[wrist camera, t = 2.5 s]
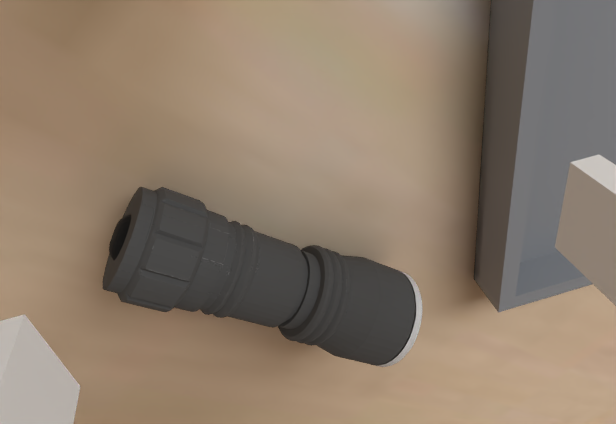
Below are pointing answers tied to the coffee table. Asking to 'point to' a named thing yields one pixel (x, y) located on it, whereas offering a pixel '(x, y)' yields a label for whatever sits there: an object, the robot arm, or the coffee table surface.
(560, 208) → the box
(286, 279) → the flashlight
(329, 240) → the coffee table surface
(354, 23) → the coffee table surface
